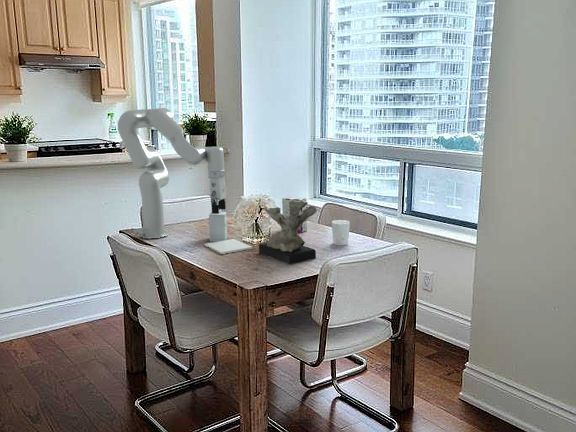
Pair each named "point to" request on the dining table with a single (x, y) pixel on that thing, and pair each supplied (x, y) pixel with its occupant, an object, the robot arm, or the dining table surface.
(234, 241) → the tile
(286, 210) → the candy bar box
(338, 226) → the white cup
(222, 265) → the dining table surface
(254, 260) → the dining table surface
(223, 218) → the supplement box
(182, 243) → the dining table surface
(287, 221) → the coral
